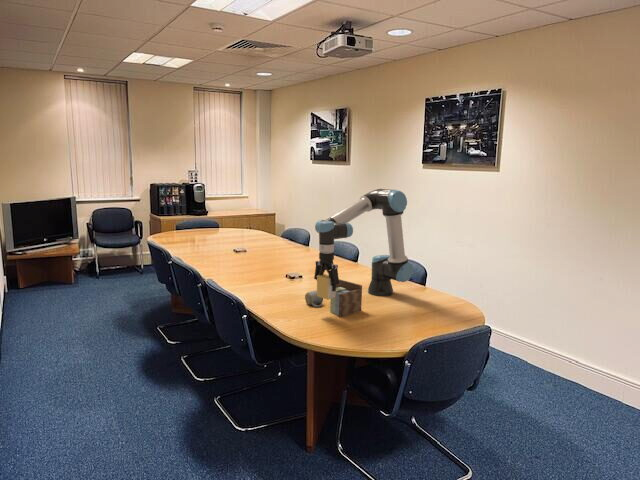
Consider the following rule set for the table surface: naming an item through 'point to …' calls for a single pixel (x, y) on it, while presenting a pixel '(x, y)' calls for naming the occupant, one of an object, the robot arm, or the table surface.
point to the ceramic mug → (313, 299)
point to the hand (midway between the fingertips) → (326, 295)
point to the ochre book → (324, 286)
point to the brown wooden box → (346, 298)
